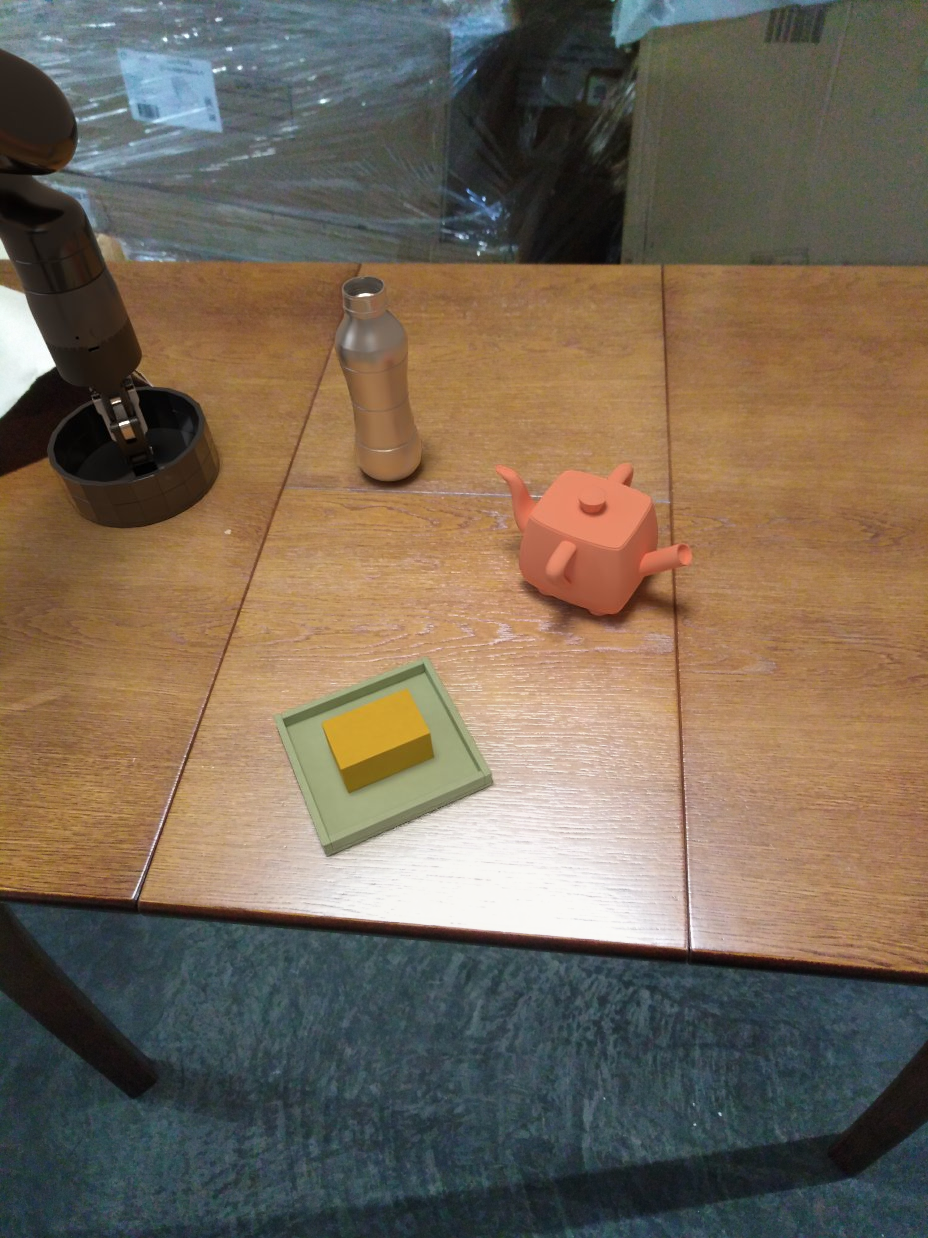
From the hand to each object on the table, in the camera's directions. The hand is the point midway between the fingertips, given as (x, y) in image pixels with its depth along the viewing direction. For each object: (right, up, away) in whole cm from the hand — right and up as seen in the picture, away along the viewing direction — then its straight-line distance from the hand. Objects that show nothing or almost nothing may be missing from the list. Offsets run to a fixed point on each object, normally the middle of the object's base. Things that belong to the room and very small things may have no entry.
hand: (145, 467), depth 92 cm
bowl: (0, -1, 0) cm, 1 cm away
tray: (+26, -26, -23) cm, 43 cm away
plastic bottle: (+25, 0, -1) cm, 25 cm away
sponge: (+26, -26, -23) cm, 43 cm away
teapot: (+44, -12, -12) cm, 47 cm away
